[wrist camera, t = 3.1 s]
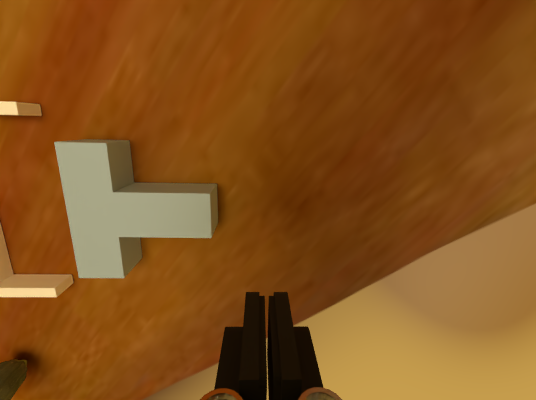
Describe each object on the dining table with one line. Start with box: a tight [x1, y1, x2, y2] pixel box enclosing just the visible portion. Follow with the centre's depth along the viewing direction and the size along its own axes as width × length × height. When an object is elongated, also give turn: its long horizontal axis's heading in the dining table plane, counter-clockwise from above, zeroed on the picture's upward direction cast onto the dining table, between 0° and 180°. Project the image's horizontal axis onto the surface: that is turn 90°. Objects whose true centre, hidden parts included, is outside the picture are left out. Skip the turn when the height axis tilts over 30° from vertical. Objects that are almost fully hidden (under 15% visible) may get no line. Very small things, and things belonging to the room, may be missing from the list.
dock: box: [0, 102, 74, 297], centre depth 25 cm, size 7×18×2 cm, turn 179°
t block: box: [54, 139, 218, 278], centre depth 25 cm, size 12×12×4 cm
